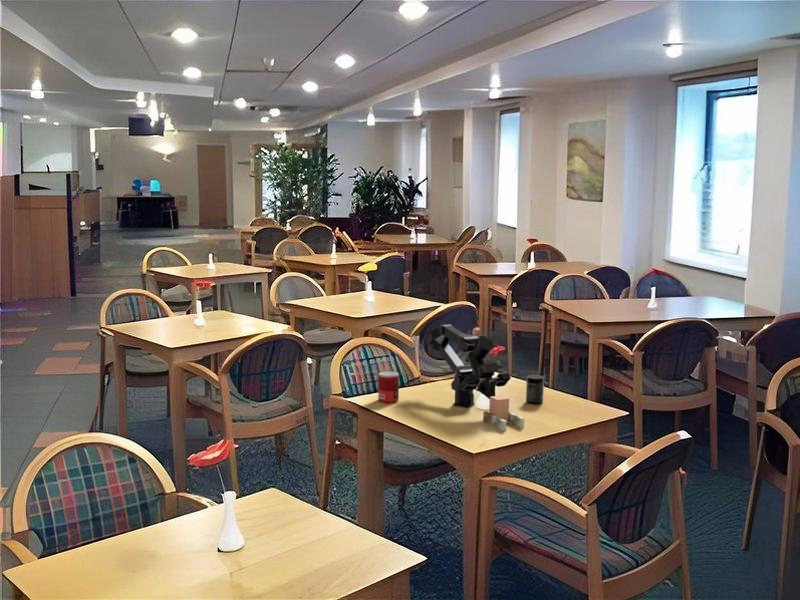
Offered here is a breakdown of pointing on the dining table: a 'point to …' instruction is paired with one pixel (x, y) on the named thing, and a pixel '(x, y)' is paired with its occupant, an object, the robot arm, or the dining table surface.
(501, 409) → the block
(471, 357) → the robot arm
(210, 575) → the dining table surface
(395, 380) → the canned food
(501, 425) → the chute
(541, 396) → the supplement container
